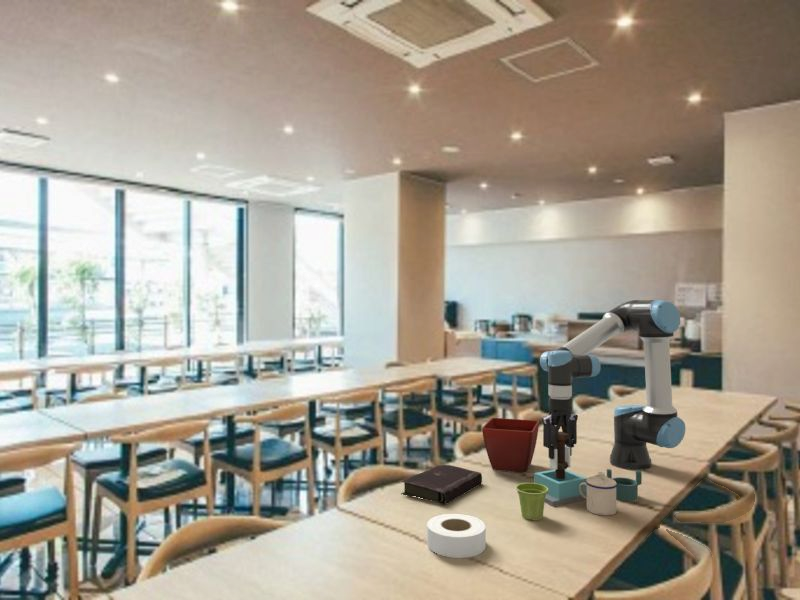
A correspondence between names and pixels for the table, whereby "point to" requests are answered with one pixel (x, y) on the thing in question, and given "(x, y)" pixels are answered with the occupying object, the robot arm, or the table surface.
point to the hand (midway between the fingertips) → (560, 467)
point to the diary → (441, 483)
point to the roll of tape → (456, 535)
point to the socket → (561, 487)
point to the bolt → (561, 455)
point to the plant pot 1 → (510, 443)
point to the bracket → (626, 486)
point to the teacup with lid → (600, 494)
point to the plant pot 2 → (532, 500)
